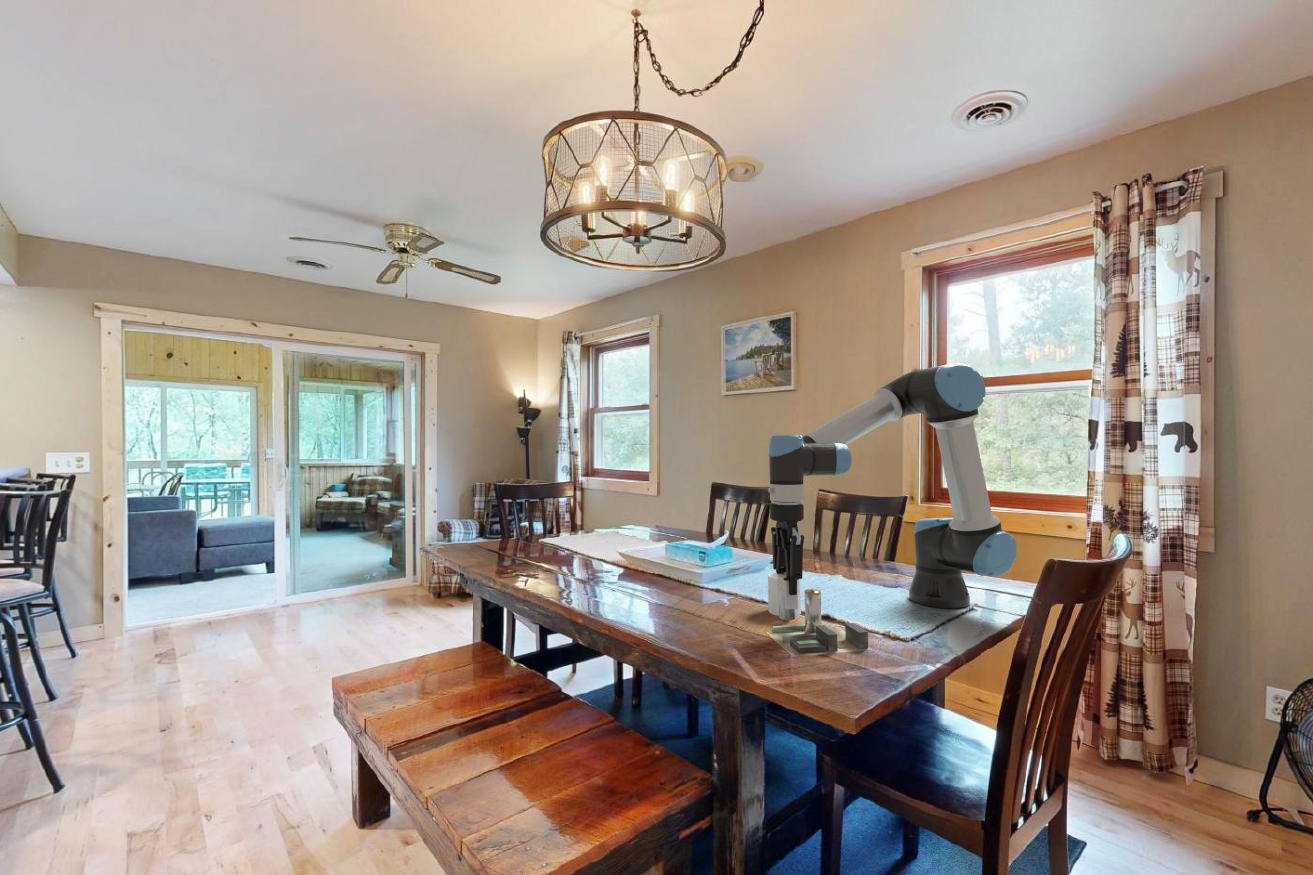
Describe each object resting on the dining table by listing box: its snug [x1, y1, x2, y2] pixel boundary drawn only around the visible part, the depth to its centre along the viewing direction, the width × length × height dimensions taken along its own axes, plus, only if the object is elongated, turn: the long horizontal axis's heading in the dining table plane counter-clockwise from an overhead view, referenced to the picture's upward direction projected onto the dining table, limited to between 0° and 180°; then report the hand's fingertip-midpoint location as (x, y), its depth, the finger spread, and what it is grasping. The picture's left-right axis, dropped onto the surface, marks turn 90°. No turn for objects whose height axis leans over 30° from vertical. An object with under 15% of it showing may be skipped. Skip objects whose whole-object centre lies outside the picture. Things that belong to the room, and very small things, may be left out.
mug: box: [767, 571, 802, 617], centre depth 145 cm, size 12×8×10 cm
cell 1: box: [778, 572, 796, 621], centre depth 128 cm, size 4×4×10 cm
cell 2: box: [804, 588, 822, 634], centre depth 129 cm, size 4×4×10 cm
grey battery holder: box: [765, 622, 873, 658], centre depth 125 cm, size 18×15×4 cm
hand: (787, 605), depth 128 cm, fingers closed on cell 1, 3 cm apart
